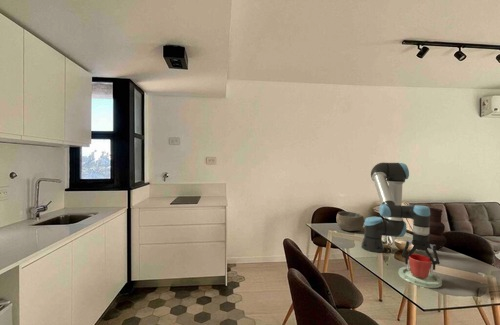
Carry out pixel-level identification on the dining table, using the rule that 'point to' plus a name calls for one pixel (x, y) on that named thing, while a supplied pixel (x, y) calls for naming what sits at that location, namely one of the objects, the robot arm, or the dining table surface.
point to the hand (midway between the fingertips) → (419, 272)
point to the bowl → (350, 221)
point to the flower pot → (420, 265)
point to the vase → (436, 229)
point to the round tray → (420, 279)
